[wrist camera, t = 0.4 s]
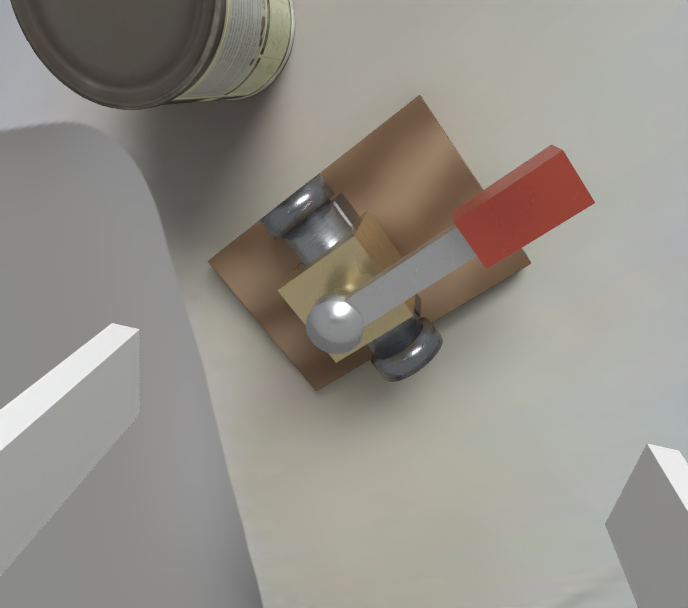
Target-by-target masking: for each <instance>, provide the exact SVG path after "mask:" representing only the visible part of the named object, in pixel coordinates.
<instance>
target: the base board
mask: <svg viewBox="0 0 688 608" xmlns="http://www.w3.org/2000/svg"><path fill="white" fill-rule="evenodd" d="M320 174H321V175H322V176H323V178H324V179H325V181H326V182H327V183H328V185H329V186H330V187H331V189H332V190H333V191H334V193H335V194H334V195H333V196H332V197H331V198H330V200H332V199H334V198H335V197H336V196H338V195H339V194H340V193H343V194H344V196H345V197H346V199H347V200H348V201H349V203H350V204H351V205H352V207H353V208H354V209H355V211H356V212H357V213H358V217H359V216H360V215H362V214H363V213H364V212H366V211H367V210H368V211H369V212H370V213H371V215H372V216H373V217H374V219H375V220H376V221H377V223H378V224H379V226H380V227H381V228H382V230H383V231H384V232H385V234H386V235H387V237H388V238H389V239H390V241H391V242H392V243H393V245H394V246H395V247H396V249H397V250H398V252H399V253H400V254H401V256H402V257H404V256H406V255H408V254H409V253H411V252H412V251H414V250H415V249H417V248H418V247H420V246H421V245H423V244H424V243H426V242H427V241H429V240H430V239H432V238H433V237H435V236H436V235H438V234H439V233H441V232H442V231H444V230H445V229H447V228H448V227H450V226H451V225H453V224H454V220H453V213H452V211H454V210H455V209H457V208H458V207H459V206H461V205H462V204H464V203H465V202H467V201H468V200H470V199H471V198H473V197H474V196H476V195H477V194H479V193H480V192H482V191H483V189H482V187H481V186H480V184H479V183H478V181H477V180H476V178H475V177H474V175H473V174H472V172H471V171H470V169H469V168H468V166H467V165H466V163H465V162H464V160H463V159H462V157H461V156H460V154H459V153H458V151H457V150H456V148H455V147H454V145H453V144H452V142H451V141H450V139H449V138H448V136H447V135H446V133H445V132H444V130H443V129H442V127H441V126H440V124H439V123H438V121H437V120H436V118H435V117H434V115H433V114H432V112H431V111H430V109H429V108H428V106H427V105H426V103H425V102H424V100H423V99H422V97H421V96H420V95H419V96H418V97H416V98H415V99H414V100H413V101H411V102H410V103H409V104H407V105H406V106H405V107H404V108H402V109H401V110H400V111H399V112H397V113H396V114H395V115H393V116H392V117H391V118H390V119H388V120H387V121H386V122H385V123H383V124H382V125H381V126H379V127H378V128H377V129H376V130H374V131H373V132H372V133H371V134H369V135H368V136H367V137H365V138H364V139H363V140H362V141H360V142H359V143H358V144H357V145H355V146H354V147H353V148H351V149H350V150H349V151H348V152H346V153H345V154H344V155H343V156H341V157H340V158H339V159H337V160H336V161H335V162H334V163H332V164H331V165H330V166H328V167H327V168H326V169H325V170H323V171H322V172H321V173H320ZM358 217H357V218H358ZM208 262H209V263H210V265H211V266H212V267H213V268H214V269H215V271H216V272H217V273H218V274H219V275H220V277H221V278H222V279H223V280H224V281H225V283H226V284H227V285H228V286H229V287H230V289H231V290H232V291H233V292H234V293H235V294H236V296H237V297H238V298H239V299H240V300H241V302H242V303H243V304H244V305H245V306H246V308H247V309H248V310H249V311H250V312H251V314H252V315H253V316H254V317H255V318H256V320H257V321H258V322H259V323H260V324H261V325H262V327H263V328H264V329H265V330H266V331H267V333H268V334H269V335H270V336H271V337H272V339H273V340H274V341H275V342H276V343H277V345H278V346H279V347H280V348H281V349H282V351H283V352H284V353H285V354H286V355H287V357H288V358H289V359H290V360H291V361H292V362H293V364H294V365H295V366H296V367H297V368H298V370H299V371H300V372H301V373H302V374H303V376H304V377H305V378H306V379H307V380H308V382H309V383H310V384H311V385H312V386H313V388H314V389H315V390H316V391H318V390H319V389H321V388H323V387H324V386H326V385H328V384H329V383H331V382H333V381H335V380H336V379H338V378H340V377H341V376H343V375H345V374H346V373H348V372H350V371H351V370H353V369H355V368H356V367H358V366H360V365H361V364H363V363H365V362H366V361H368V360H370V359H371V356H372V354H373V352H372V351H371V349H370V348H369V347H368V345H367V344H366V345H365V346H363V347H361V348H360V349H358V350H356V351H355V352H353V353H351V354H350V355H348V356H346V357H345V358H343V359H342V360H340V361H338V362H337V363H336V362H335V361H334V360H333V358H332V357H331V356H330V355H329V353H327V352H325V351H322V350H321V349H319V348H318V347H316V346H315V345H314V344H313V343H312V342H311V340H310V339H309V337H308V334H307V331H306V325H305V324H304V323H303V322H302V320H301V319H300V318H299V317H298V315H297V314H296V313H295V312H294V310H293V309H292V308H291V307H290V306H289V304H288V303H287V302H286V301H285V299H284V298H283V297H282V296H281V294H280V293H279V292H278V291H277V290H278V289H279V288H280V286H281V285H282V284H283V283H284V281H285V280H286V279H287V277H288V276H289V275H290V273H291V272H292V271H293V269H294V268H295V267H296V266H297V264H298V263H299V262H300V259H299V258H298V257H297V255H296V254H295V253H294V252H293V250H292V249H291V248H290V247H289V245H288V244H287V243H286V241H285V240H284V239H283V238H282V236H281V237H280V238H278V239H276V240H274V239H273V237H272V236H271V235H270V234H269V232H268V231H267V230H266V228H265V227H264V226H263V225H262V223H261V222H260V221H258V222H257V223H256V224H255V225H253V226H252V227H251V228H249V229H248V230H247V231H246V232H244V233H243V234H242V235H241V236H239V237H238V238H237V239H235V240H234V241H233V242H232V243H230V244H229V245H228V246H227V247H225V248H224V249H223V250H221V251H220V252H219V253H218V254H216V255H215V256H214V257H213V258H211V259H210V260H209V261H208ZM530 264H531V262H530V260H529V259H528V257H527V255H526V253H525V252H524V250H523V249H522V248H520V249H519V250H517V251H515V252H514V253H512V254H510V255H509V256H507V257H506V258H504V259H502V260H501V261H499V262H497V263H496V264H494V265H492V266H491V267H489V268H488V269H486V268H485V267H484V265H483V264H482V263H481V261H480V260H479V258H478V257H477V256H476V257H475V258H473V259H472V260H470V261H468V262H467V263H465V264H464V265H462V266H460V267H459V268H457V269H456V270H454V271H452V272H451V273H449V274H448V275H446V276H444V277H443V278H441V279H440V280H438V281H436V282H435V283H433V284H432V285H430V286H428V287H427V288H425V289H424V290H422V291H420V292H419V293H417V295H418V296H419V297H420V299H421V316H420V317H418V318H421V317H425V318H428V319H429V320H430V322H431V323H432V322H434V321H435V320H437V319H439V318H441V317H442V316H444V315H446V314H447V313H449V312H451V311H452V310H454V309H456V308H457V307H459V306H461V305H462V304H464V303H466V302H467V301H469V300H471V299H472V298H474V297H476V296H478V295H479V294H481V293H483V292H484V291H486V290H488V289H489V288H491V287H493V286H494V285H496V284H498V283H499V282H501V281H503V280H504V279H506V278H508V277H509V276H511V275H513V274H515V273H516V272H518V271H520V270H521V269H523V268H525V267H526V266H528V265H530Z"/></svg>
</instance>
